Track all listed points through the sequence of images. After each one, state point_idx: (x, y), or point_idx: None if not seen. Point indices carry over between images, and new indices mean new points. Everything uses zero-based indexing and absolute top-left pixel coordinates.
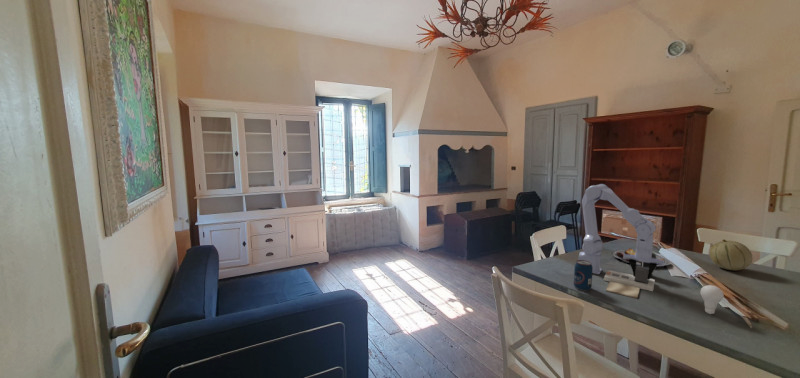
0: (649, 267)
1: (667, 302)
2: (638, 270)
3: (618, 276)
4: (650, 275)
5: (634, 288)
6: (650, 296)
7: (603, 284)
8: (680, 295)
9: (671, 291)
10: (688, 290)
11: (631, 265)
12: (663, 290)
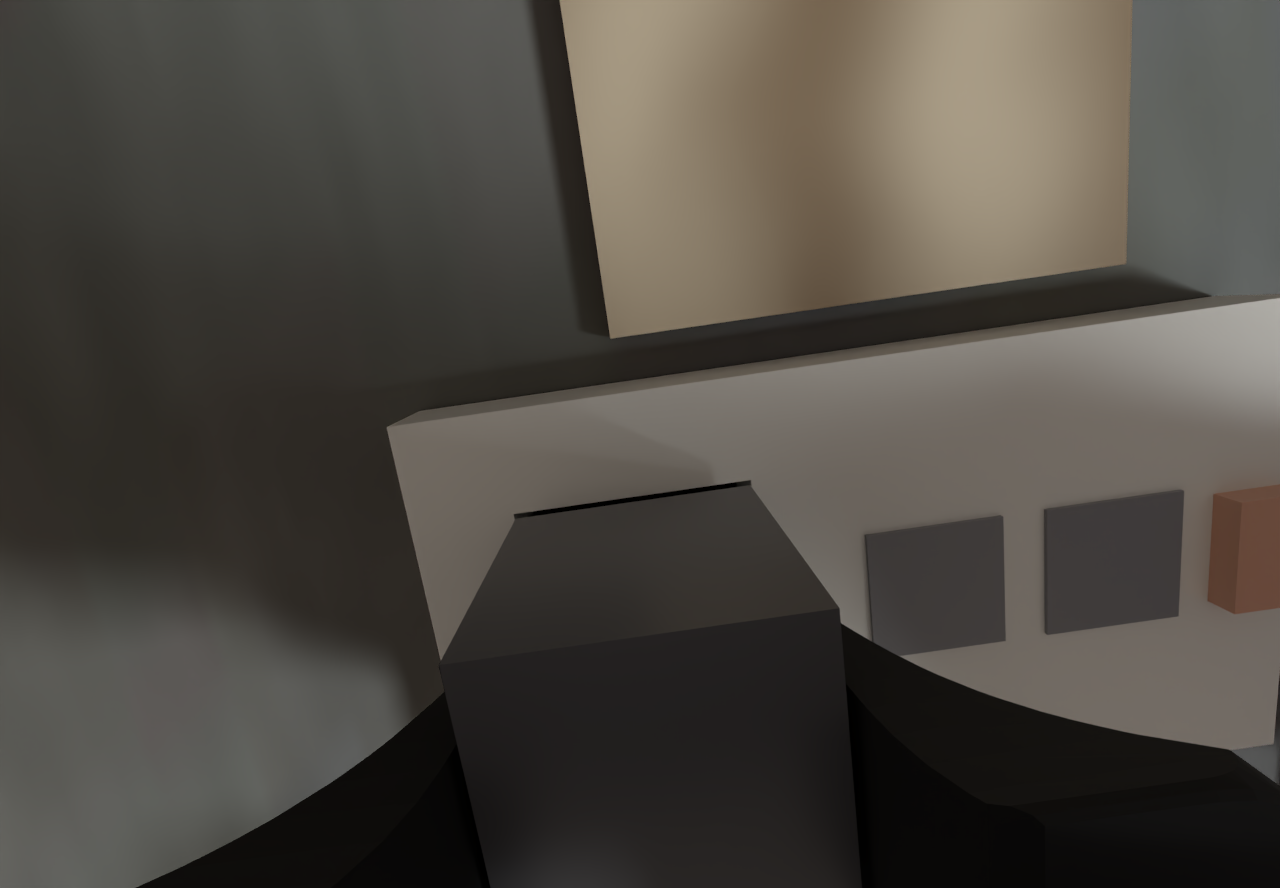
0: (349, 863)
1: (78, 28)
2: (737, 615)
3: (1055, 511)
4: (443, 696)
5: (678, 225)
6: (378, 105)
7: (1199, 51)
8: (68, 571)
9: (220, 645)
10: (74, 871)
11: (1057, 725)
12: (317, 596)
